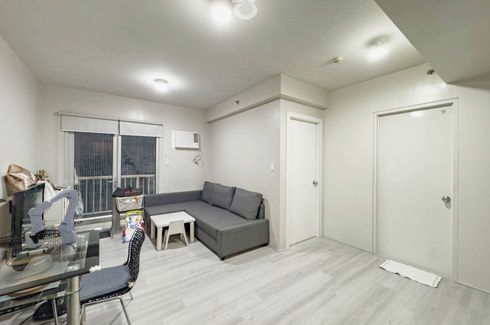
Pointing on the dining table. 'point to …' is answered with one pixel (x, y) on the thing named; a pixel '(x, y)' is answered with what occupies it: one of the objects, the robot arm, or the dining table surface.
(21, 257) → the board
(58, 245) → the mat
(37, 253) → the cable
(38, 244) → the supplement box
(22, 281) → the dining table surface
